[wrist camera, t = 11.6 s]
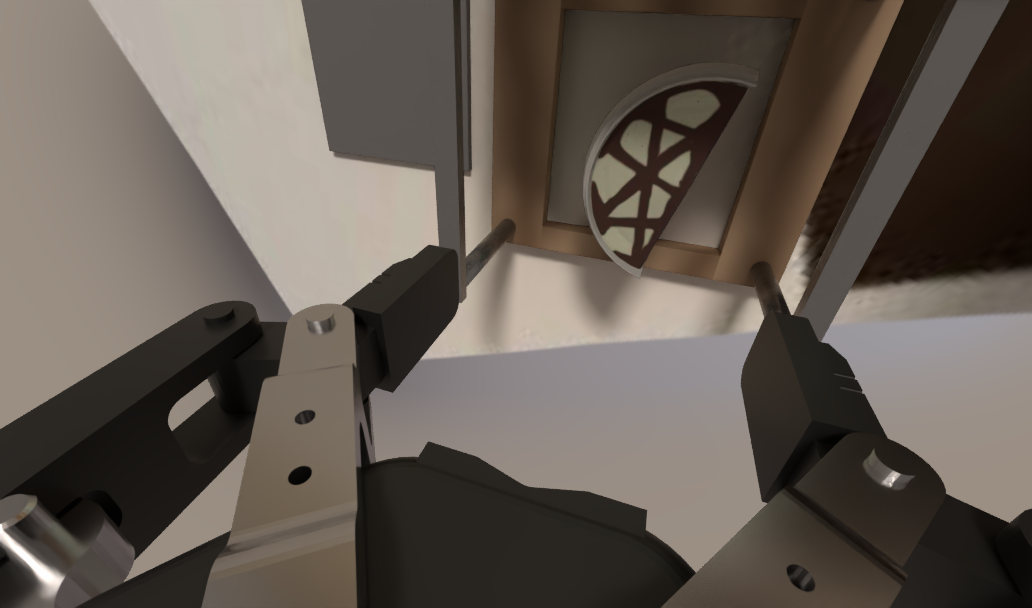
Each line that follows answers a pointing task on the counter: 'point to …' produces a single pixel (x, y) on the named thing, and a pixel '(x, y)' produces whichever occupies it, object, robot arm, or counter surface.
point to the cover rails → (871, 204)
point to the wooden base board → (776, 152)
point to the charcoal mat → (380, 77)
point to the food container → (656, 154)
